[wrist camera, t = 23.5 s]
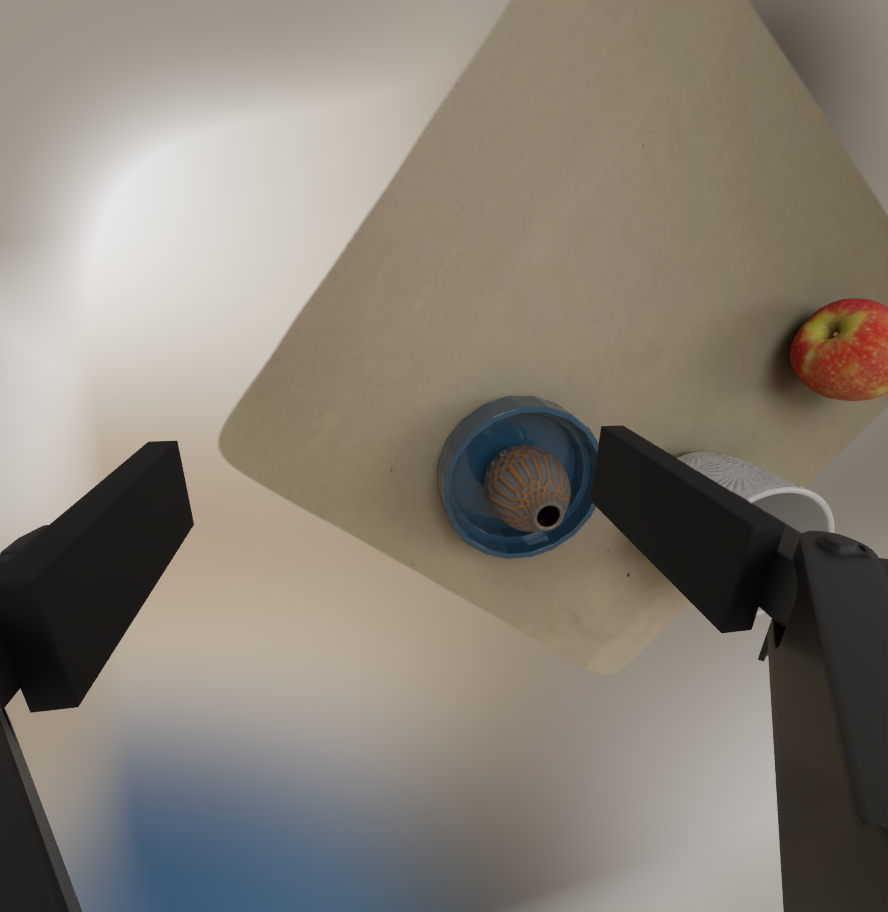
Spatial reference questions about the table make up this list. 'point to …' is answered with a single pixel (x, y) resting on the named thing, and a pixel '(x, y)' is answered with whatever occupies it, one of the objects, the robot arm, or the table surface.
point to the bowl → (488, 437)
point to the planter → (765, 491)
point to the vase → (527, 488)
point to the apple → (844, 350)
